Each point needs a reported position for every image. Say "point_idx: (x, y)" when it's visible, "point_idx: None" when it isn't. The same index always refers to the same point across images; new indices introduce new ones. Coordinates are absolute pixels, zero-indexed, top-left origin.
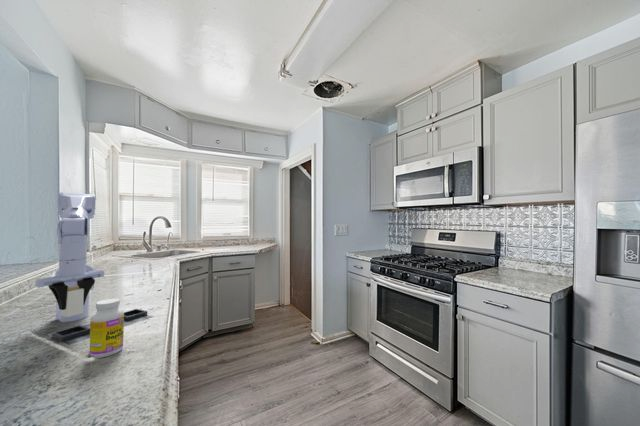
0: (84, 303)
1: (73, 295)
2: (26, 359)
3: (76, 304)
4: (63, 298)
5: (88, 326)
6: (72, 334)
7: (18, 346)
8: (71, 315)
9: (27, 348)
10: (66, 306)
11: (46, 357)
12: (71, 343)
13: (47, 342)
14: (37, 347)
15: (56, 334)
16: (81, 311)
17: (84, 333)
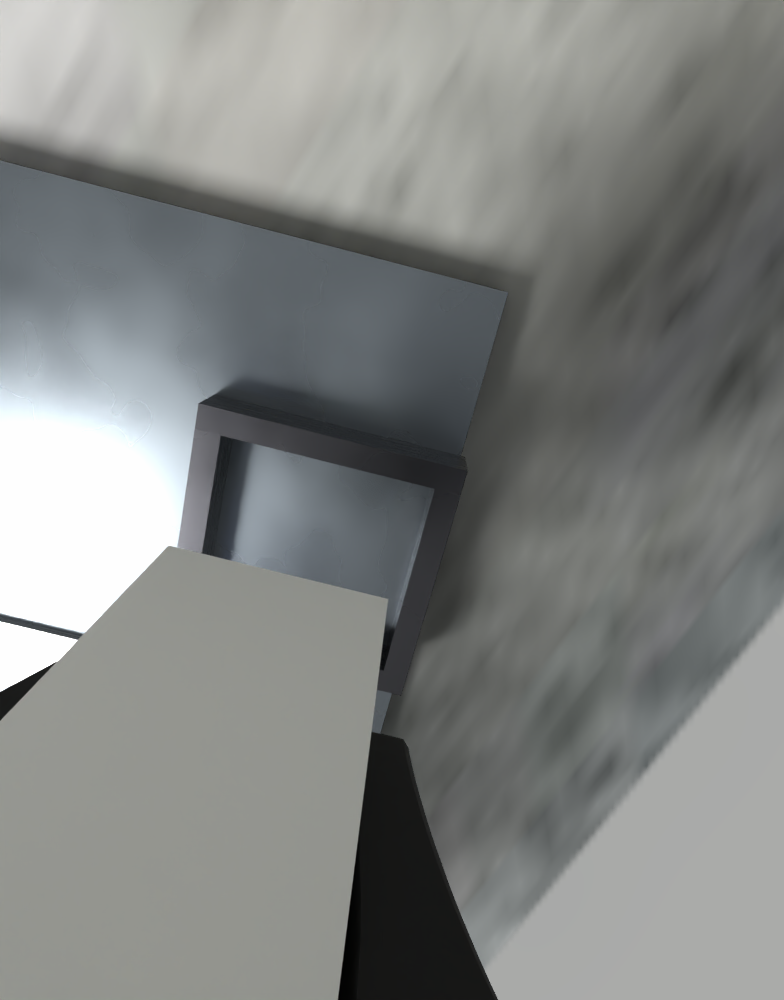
0: (43, 669)
1: (187, 887)
2: (761, 442)
3: (206, 673)
4: (416, 936)
5: (104, 598)
6: (375, 446)
7: (546, 788)
8: (329, 585)
9: (569, 680)
10: (368, 735)
11: (717, 285)
12: (482, 297)
13: (443, 645)
14: (541, 619)
15: (417, 615)
16: (183, 563)
17: (266, 411)
